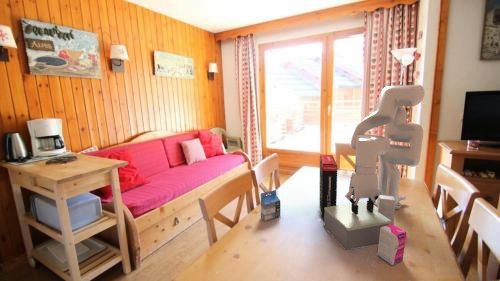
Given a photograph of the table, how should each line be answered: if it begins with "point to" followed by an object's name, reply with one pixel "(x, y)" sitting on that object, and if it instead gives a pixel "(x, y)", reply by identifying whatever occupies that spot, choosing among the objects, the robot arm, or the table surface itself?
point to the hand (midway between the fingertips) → (362, 211)
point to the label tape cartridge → (270, 205)
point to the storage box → (352, 234)
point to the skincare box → (387, 207)
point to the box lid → (356, 216)
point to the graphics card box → (327, 182)
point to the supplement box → (391, 244)
